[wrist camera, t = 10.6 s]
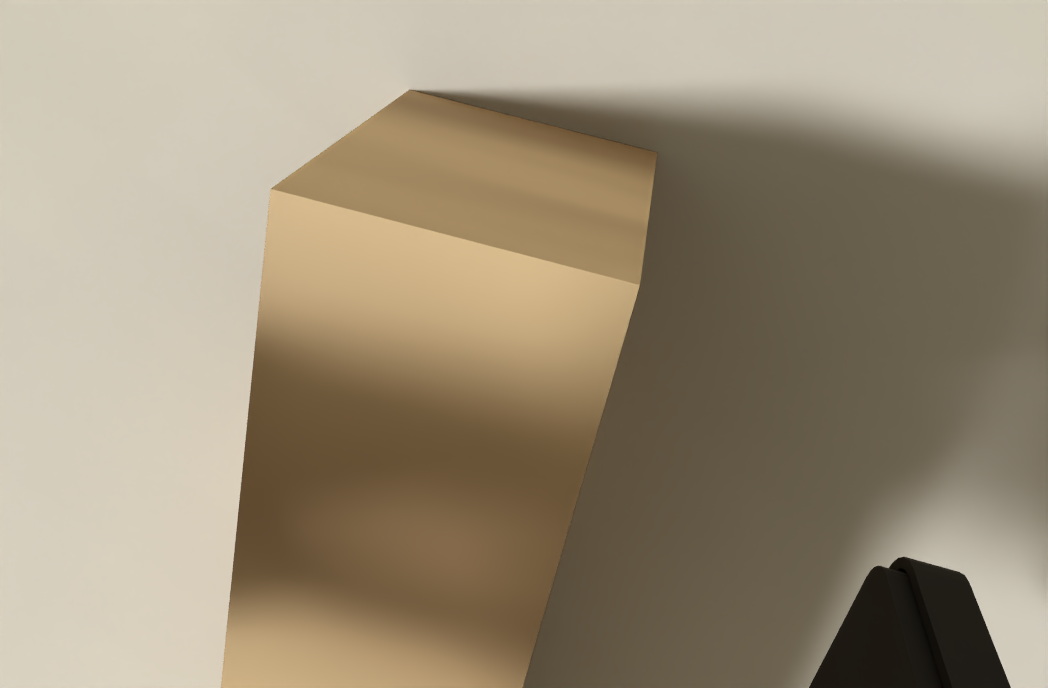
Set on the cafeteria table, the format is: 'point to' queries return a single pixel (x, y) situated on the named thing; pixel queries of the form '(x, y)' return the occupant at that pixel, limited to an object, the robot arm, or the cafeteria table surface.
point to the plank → (427, 395)
